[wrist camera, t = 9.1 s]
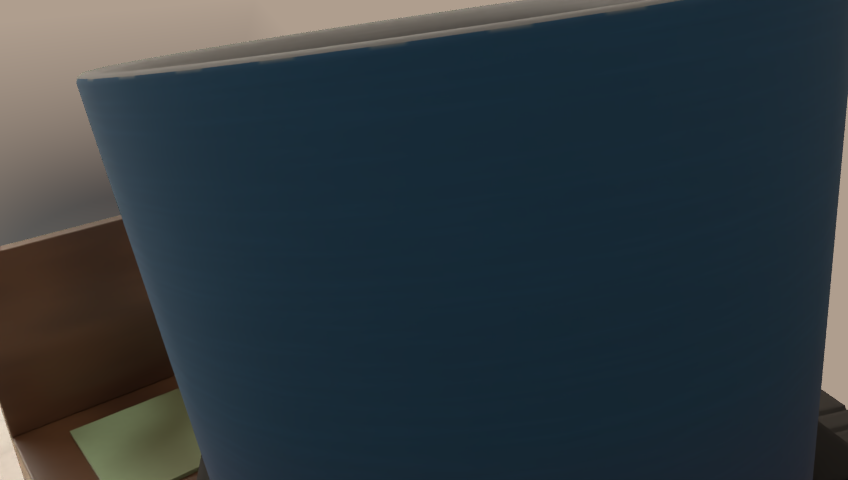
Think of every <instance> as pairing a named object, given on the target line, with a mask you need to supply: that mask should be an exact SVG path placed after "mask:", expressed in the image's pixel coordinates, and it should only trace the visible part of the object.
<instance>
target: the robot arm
mask: <svg viewBox="0 0 848 480" xmlns="http://www.w3.org/2000/svg"><path fill="white" fill-rule="evenodd" d="M197 480H210V478H209V476H208V473H207V470H206V467H205V464H204V461H203V458H202V455H201V459H200V464H199V469H198V475H197ZM813 480H848V410H846V408H845V405H843V404H842V403H840V402H839V401H837V400H836V399H834V398H833V397H832V396H830V395H829V394H827V393H826V392H824V391H823V390H821V394H820V405H819V416H818V427H817V438H816V449H815V460H814V471H813Z"/></svg>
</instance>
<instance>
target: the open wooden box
mask: <svg viewBox="0 0 848 480" xmlns="http://www.w3.org/2000/svg"><path fill="white" fill-rule="evenodd" d="M0 407H1V410H2V413H3V416H4V419H5V422H6V425H7V428H8V431H9V434H10V437H11V440H12V443H13V446H14V449H15V452H16V455H17V458H18V461H19V464H20V467H21V470H22V473H23V476H24V479H25V480H197V475H198V469H199V464H200V459H201V452H200V449H199V446H198V443H197V440H196V437H195V434H194V431H193V428H192V425H191V422H190V419H189V416H188V413H187V410H186V407H185V404H184V401H183V398H182V395H181V392H180V389H179V386H178V383H177V380H176V377H175V374H174V371H173V368H172V366H171V363H170V360H169V357H168V354H167V351H166V348H165V345H164V342H163V339H162V336H161V333H160V330H159V327H158V324H157V321H156V318H155V315H154V312H153V309H152V306H151V303H150V300H149V297H148V294H147V291H146V288H145V285H144V282H143V279H142V276H141V273H140V270H139V267H138V264H137V261H136V258H135V256H134V253H133V250H132V247H131V244H130V241H129V238H128V235H127V232H126V229H125V226H124V223H123V220H122V217H121V215H119V216H115V217H112V218H108V219H104V220H100V221H96V222H92V223H89V224H84V225H81V226H77V227H73V228H69V229H65V230H61V231H58V232H54V233H50V234H46V235H42V236H38V237H34V238H30V239H26V240H23V241H19V242H15V243H11V244H7V245H3V246H0Z"/></svg>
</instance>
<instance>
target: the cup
mask: <svg viewBox="0 0 848 480" xmlns="http://www.w3.org/2000/svg"><path fill="white" fill-rule="evenodd" d="M77 86H78V89H79V92H80V95H81V98H82V101H83V104H84V107H85V110H86V113H87V116H88V118H89V122H90V125H91V127H92V131H93V134H94V136H95V139H96V142H97V146H98V148H99V151H100V154H101V157H102V160H103V163H104V166H105V169H106V172H107V175H108V178H109V181H110V184H111V187H112V190H113V193H114V196H115V199H116V202H117V205H118V208H119V211H120V214H121V217H122V220H123V223H124V226H125V229H126V232H127V235H128V238H129V241H130V244H131V247H132V250H133V253H134V256H135V258H136V261H137V264H138V267H139V270H140V273H141V276H142V279H143V282H144V285H145V288H146V291H147V294H148V297H149V300H150V303H151V306H152V309H153V312H154V315H155V318H156V321H157V324H158V327H159V330H160V333H161V336H162V339H163V342H164V345H165V348H166V351H167V354H168V357H169V360H170V363H171V366H172V368H173V371H174V374H175V377H176V380H177V383H178V386H179V389H180V392H181V395H182V398H183V401H184V404H185V407H186V410H187V413H188V416H189V419H190V422H191V425H192V428H193V431H194V434H195V437H196V440H197V443H198V446H199V449H200V452H201V455H202V458H203V461H204V464H205V467H206V470H207V473H208V476H209V478H210V480H813V471H814V460H815V449H816V438H817V427H818V416H819V405H820V394H821V383H822V370H823V361H824V349H825V339H826V328H827V316H828V306H829V295H830V284H831V273H832V262H833V251H834V240H835V229H836V217H837V207H838V195H839V185H840V174H841V163H842V152H843V140H844V130H845V119H846V108H847V97H848V0H523V1H515V2H509V3H501V4H495V5H487V6H480V7H473V8H466V9H459V10H452V11H447V12H446V11H445V12H439V13H432V14H426V15H418V16H411V17H405V18H398V19H391V20H385V21H378V22H372V23H365V24H358V25H352V26H345V27H338V28H332V29H325V30H319V31H312V32H306V33H300V34H293V35H287V36H280V37H274V38H268V39H262V40H255V41H249V42H243V43H237V44H231V45H225V46H219V47H212V48H207V49H200V50H195V51H189V52H183V53H177V54H171V55H166V56H160V57H154V58H149V59H143V60H138V61H132V62H128V63H122V64H118V65H112V66H107V67H102V68H98V69H94V70H90V71H87V72H84V73H82V74H81V75H80V76H78V78H77Z"/></svg>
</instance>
